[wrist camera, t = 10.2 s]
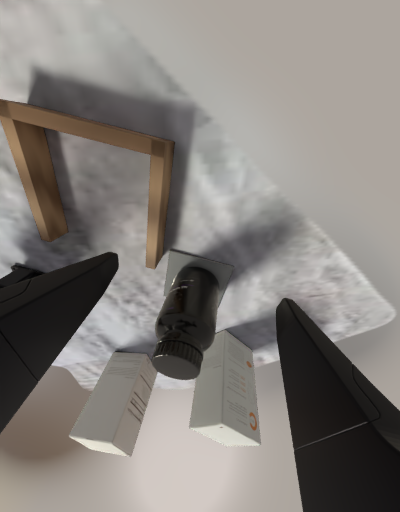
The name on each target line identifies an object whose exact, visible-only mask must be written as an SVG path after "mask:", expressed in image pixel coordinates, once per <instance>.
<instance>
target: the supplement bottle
mask: <svg viewBox="0 0 400 512" xmlns="http://www.w3.org/2000/svg"><path fill="white" fill-rule="evenodd" d="M219 289H220V288H219V282H218V280H217V278H216V277H215V275H214V274H213V273H211V272H210V271H208V270H206V269H204V268H201V267H187V268H184V269H182V270H181V271H179V272H178V273H177V275H176V276H175V278H174V280H173V283H172V285H171V287H170V290H169V292H168V294H167V297H166V299H165V301H164V304H163V306H162V309H161V311H160V313H159V316H158V318H157V321H156V324H155V333H156V336H157V338H158V342H157V344H156V348H155V352H154V354H153V357H152V365H153V367H154V368H155V369H156V370H157V371H158V372H160V373H161V374H164V375H165V376H168V377H171V378H174V379H180V380H191V379H194V378H197V377H198V376H199V374H200V371H201V364H202V361H203V357H204V352H205V351H206V350H207V349H209V348H210V346H211V345H212V344H213V342H214V338H215V330H216V320H217V310H218V300H219Z"/></svg>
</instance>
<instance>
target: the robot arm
mask: <svg viewBox="0 0 400 512" xmlns="http://www.w3.org/2000/svg"><path fill="white" fill-rule="evenodd" d="M118 267H119V263H118V255H117V254H116V253H113V252H107V253H104V254H101V255H98V256H95V257H93V258H90V259H87V260H84V261H81V262H78V263H75V264H72V265H69V266H66V267H63V268H61V269H58V270H55V271H52V272H49V273H42V272H39V271H35V270H31V269H27V268H23V267H20V266H16V265H13V266H12V267H11V269H12V271H13V272H11V273H10V274H8V275H6V276H5V277H3V278H1V279H0V433H1V432H2V431H3V429H4V428H5V427H6V425H7V424H8V423H9V421H10V420H11V419H12V417H13V416H14V414H15V413H16V412H17V411H18V409H19V408H20V406H21V405H22V404H23V402H24V401H25V400H26V398H27V397H28V396H29V394H30V393H31V392H32V390H33V389H34V388H35V386H36V385H37V383H38V381H40V379H41V378H42V377H43V375H44V374H45V372H46V371H47V370H48V368H49V367H50V366H51V364H52V363H53V362H54V360H55V359H56V358H57V356H58V355H59V354H60V352H61V351H62V350H63V348H64V347H65V345H66V344H67V343H68V341H69V340H70V339H71V337H72V336H73V335H74V333H75V332H76V331H77V329H78V328H79V327H80V325H81V324H82V322H83V321H84V320H85V318H86V317H87V316H88V314H89V313H90V312H91V310H92V309H93V308H94V306H95V305H96V304H97V302H98V301H99V300H100V298H101V297H102V295H103V294H104V292H105V291H106V289H107V287H108V286H109V284H110V282H111V280H112V279H113V277H114V275H115V274H116V272H117V270H118ZM276 330H277V343H278V349H279V356H280V363H281V369H282V375H283V382H284V389H285V395H286V402H287V408H288V415H289V421H290V428H291V435H292V441H293V448H294V455H295V462H296V468H297V475H298V481H299V488H300V494H301V501H302V507H303V512H400V411H399V410H398V409H397V408H396V407H395V406H394V405H393V404H392V403H391V402H390V401H389V400H388V399H387V398H386V397H385V396H384V395H383V394H382V393H381V392H380V391H379V390H378V389H377V388H376V387H375V386H374V385H373V384H372V383H371V382H370V381H369V380H368V379H367V378H366V377H365V376H364V375H363V374H362V373H361V372H360V371H359V370H358V369H357V367H356V366H355V365H354V364H352V362H351V361H350V360H349V359H348V358H347V357H346V356H345V355H344V354H343V353H342V352H341V351H340V350H339V349H338V347H337V346H336V345H335V344H334V343H333V342H332V341H331V340H330V339H329V338H328V337H327V336H326V335H325V334H324V333H323V331H322V330H321V329H320V328H319V327H318V326H317V325H316V324H315V323H314V322H313V321H312V320H311V319H310V318H309V317H308V316H307V315H306V313H305V312H304V311H303V310H302V309H301V308H300V307H299V306H298V305H297V304H296V303H295V302H294V301H293V300H292V299H288V298H283V299H282V301H281V302H280V304H279V305H278V306H277V308H276Z"/></svg>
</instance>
